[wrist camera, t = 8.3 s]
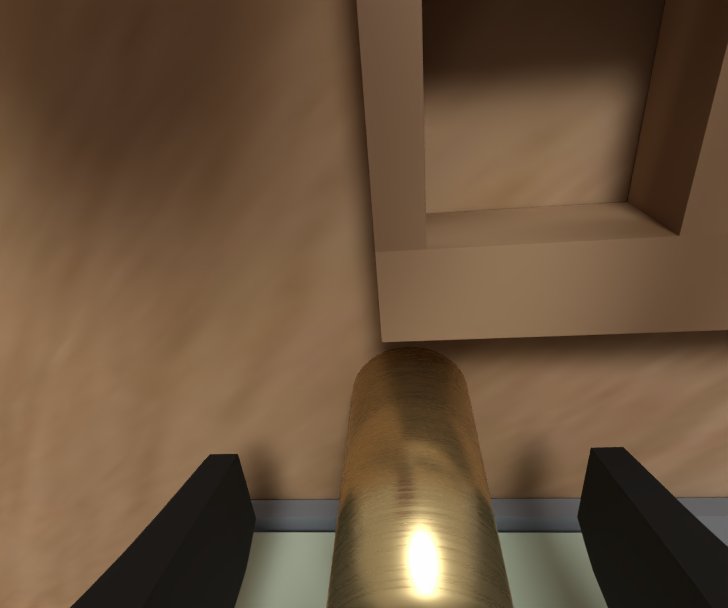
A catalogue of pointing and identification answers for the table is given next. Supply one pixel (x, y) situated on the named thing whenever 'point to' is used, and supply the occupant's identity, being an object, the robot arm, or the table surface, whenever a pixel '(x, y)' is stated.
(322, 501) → the base
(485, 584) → the peg
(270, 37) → the table surface
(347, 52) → the table surface
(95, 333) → the table surface
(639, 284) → the socket board
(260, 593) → the pale green rectangular block
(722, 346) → the table surface
